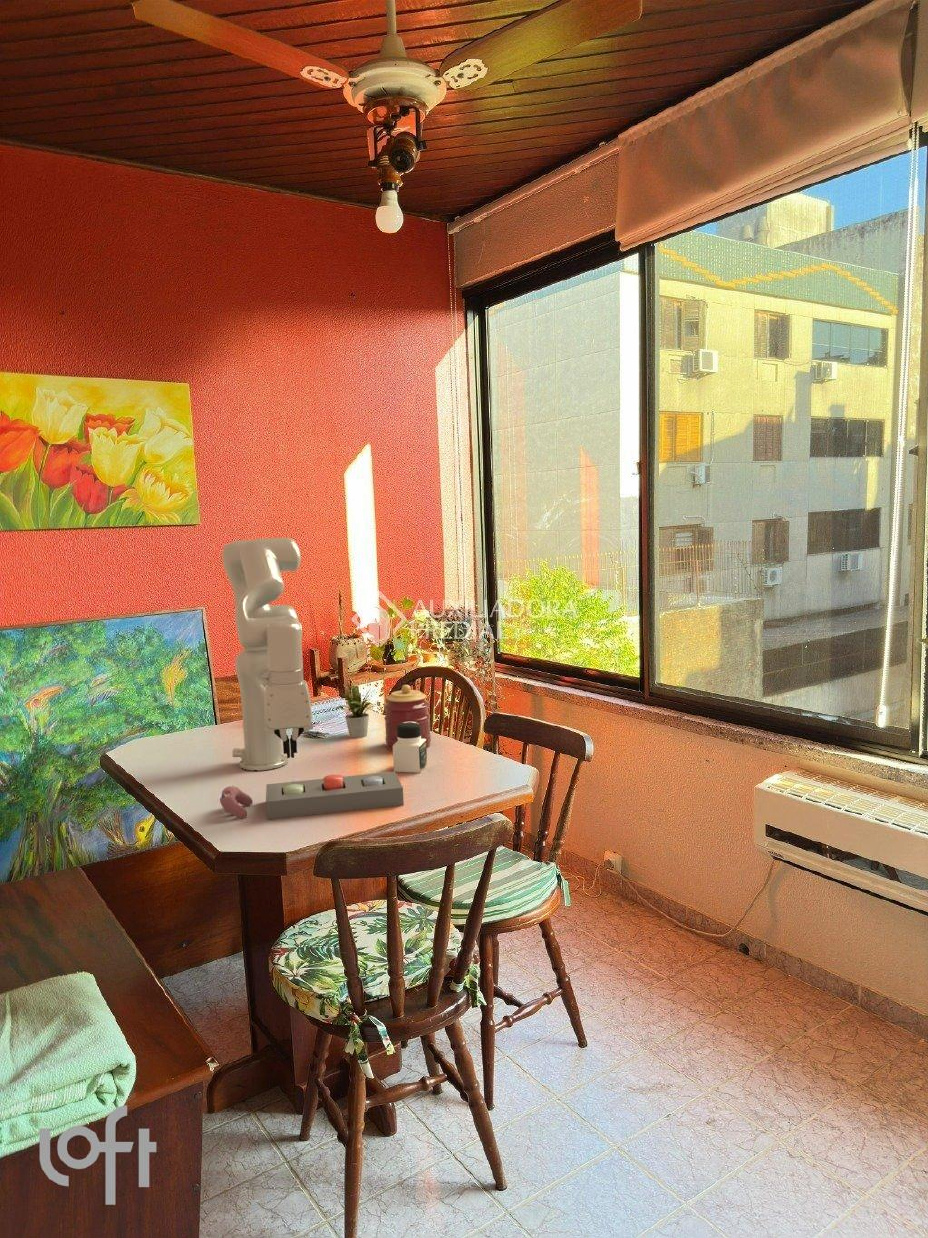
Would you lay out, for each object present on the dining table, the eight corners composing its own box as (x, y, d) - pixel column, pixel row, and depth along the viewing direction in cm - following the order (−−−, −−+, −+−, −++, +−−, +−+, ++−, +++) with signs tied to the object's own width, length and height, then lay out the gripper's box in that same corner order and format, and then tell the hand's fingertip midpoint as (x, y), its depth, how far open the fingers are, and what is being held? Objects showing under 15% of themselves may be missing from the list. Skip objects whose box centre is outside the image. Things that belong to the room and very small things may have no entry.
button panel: (267, 819, 185) (265, 801, 184) (267, 801, 197) (266, 784, 197) (403, 804, 191) (402, 787, 190) (395, 787, 203) (395, 771, 203)
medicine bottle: (420, 773, 215) (418, 726, 213) (393, 772, 216) (391, 726, 215) (427, 765, 222) (425, 720, 220) (401, 764, 223) (399, 719, 222)
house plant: (321, 736, 256) (318, 683, 255) (359, 727, 266) (356, 676, 264) (349, 744, 246) (346, 688, 244) (387, 734, 255) (384, 681, 253)
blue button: (364, 796, 193) (364, 782, 193) (363, 790, 197) (362, 777, 197) (384, 794, 194) (383, 780, 194) (381, 788, 198) (381, 775, 198)
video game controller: (237, 811, 195) (221, 786, 194) (254, 802, 195) (239, 776, 194) (230, 827, 186) (213, 800, 184) (248, 816, 186) (232, 789, 185)
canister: (418, 737, 251) (415, 678, 249) (439, 746, 240) (437, 685, 238) (378, 744, 244) (375, 684, 242) (398, 754, 233) (395, 691, 231)
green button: (284, 805, 189) (283, 791, 189) (284, 798, 194) (283, 785, 193) (304, 802, 190) (303, 789, 190) (303, 796, 195) (302, 783, 194)
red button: (324, 795, 191) (323, 781, 191) (323, 789, 195) (322, 775, 195) (344, 793, 192) (343, 779, 192) (342, 787, 196) (342, 773, 196)
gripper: (251, 682, 184) (256, 764, 186) (321, 678, 187) (324, 758, 190) (252, 675, 191) (256, 754, 194) (319, 671, 194) (323, 748, 197)
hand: (290, 756), depth 192 cm, fingers closed
